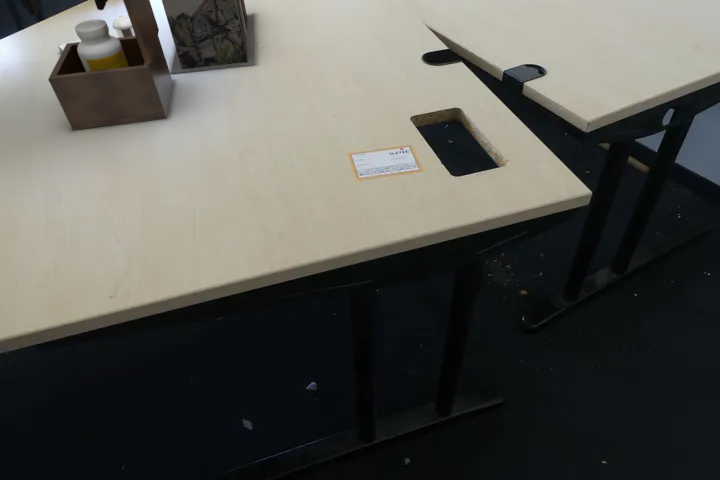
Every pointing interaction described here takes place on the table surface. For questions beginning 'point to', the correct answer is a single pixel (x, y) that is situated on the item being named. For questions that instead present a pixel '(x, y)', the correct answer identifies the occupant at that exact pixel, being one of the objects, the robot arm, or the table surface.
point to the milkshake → (123, 27)
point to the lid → (143, 26)
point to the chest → (112, 88)
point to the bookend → (210, 34)
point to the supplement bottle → (99, 47)
